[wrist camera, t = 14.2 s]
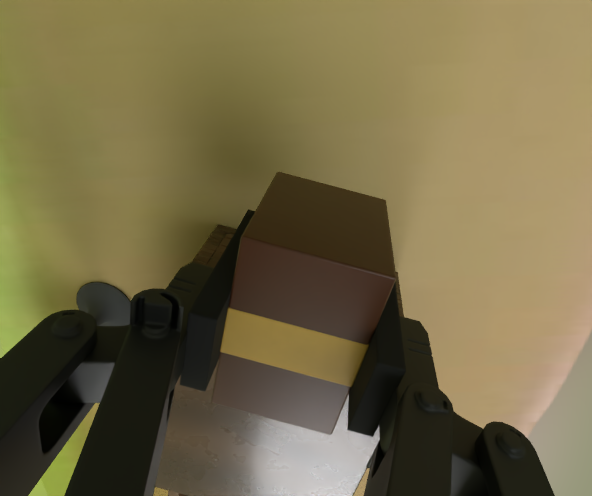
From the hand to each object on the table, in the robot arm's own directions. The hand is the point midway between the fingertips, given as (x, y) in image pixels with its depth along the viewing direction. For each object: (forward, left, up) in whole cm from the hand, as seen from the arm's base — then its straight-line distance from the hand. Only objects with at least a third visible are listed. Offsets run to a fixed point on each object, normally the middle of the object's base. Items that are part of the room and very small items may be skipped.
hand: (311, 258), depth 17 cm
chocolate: (0, 0, 0) cm, 0 cm away
